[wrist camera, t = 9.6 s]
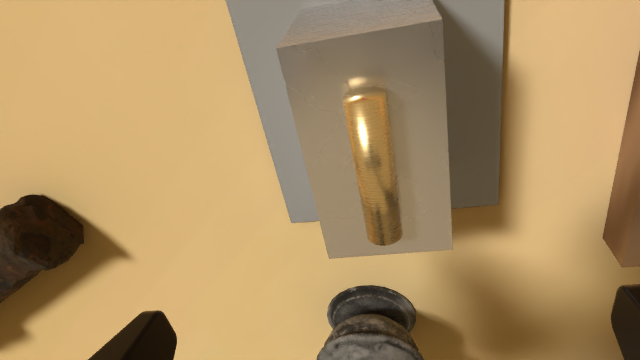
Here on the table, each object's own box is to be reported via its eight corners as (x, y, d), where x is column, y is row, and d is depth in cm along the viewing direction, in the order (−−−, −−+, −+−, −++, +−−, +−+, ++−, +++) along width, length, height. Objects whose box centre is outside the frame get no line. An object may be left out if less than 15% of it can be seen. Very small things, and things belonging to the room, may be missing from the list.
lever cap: (436, 174, 19) (458, 274, 14) (338, 184, 20) (325, 282, 15) (424, -15, 15) (449, 31, 10) (301, 8, 16) (267, 61, 11)
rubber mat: (495, 198, 20) (498, 204, 20) (292, 216, 22) (291, 222, 22) (503, -97, 14) (507, -97, 14) (220, -35, 16) (215, -34, 16)
